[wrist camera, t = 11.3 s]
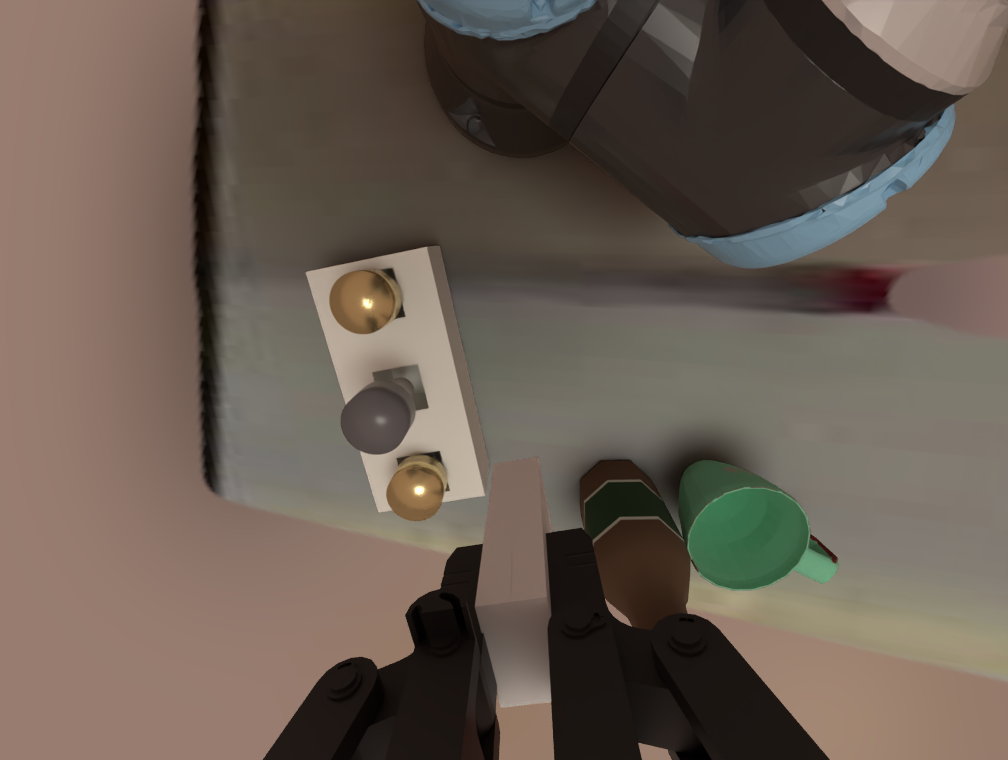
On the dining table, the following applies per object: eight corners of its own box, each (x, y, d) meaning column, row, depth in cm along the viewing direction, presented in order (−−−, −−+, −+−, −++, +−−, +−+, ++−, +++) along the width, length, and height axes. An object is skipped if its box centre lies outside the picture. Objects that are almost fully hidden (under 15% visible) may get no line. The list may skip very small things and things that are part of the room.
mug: (637, 501, 50) (664, 564, 41) (687, 420, 47) (728, 467, 38) (761, 555, 51) (815, 629, 42) (816, 480, 49) (887, 539, 39)
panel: (333, 267, 45) (305, 272, 39) (439, 245, 44) (426, 246, 38) (395, 480, 51) (378, 512, 45) (489, 465, 50) (484, 495, 44)
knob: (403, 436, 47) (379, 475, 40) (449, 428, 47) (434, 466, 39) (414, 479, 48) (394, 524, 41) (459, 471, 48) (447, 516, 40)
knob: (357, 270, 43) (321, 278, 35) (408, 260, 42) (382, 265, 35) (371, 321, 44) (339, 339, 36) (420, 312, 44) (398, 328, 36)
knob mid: (368, 368, 41) (332, 399, 34) (420, 359, 41) (396, 387, 33) (382, 419, 42) (351, 459, 35) (433, 410, 42) (413, 449, 34)
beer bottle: (564, 472, 50) (598, 677, 27) (636, 444, 48) (738, 633, 25) (592, 534, 51) (648, 774, 28) (663, 508, 50) (781, 737, 27)
